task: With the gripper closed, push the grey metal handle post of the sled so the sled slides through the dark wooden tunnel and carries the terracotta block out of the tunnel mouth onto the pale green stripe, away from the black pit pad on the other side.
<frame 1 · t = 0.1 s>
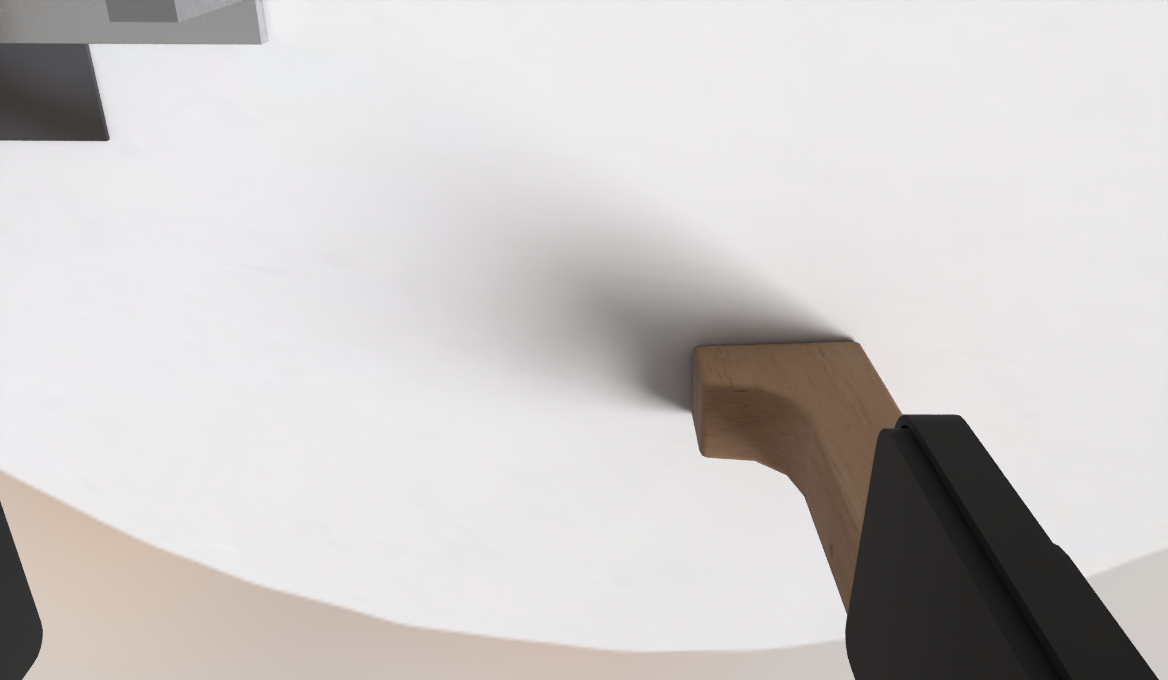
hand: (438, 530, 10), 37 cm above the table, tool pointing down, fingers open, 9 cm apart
wooden block: (772, 375, 51), on the table
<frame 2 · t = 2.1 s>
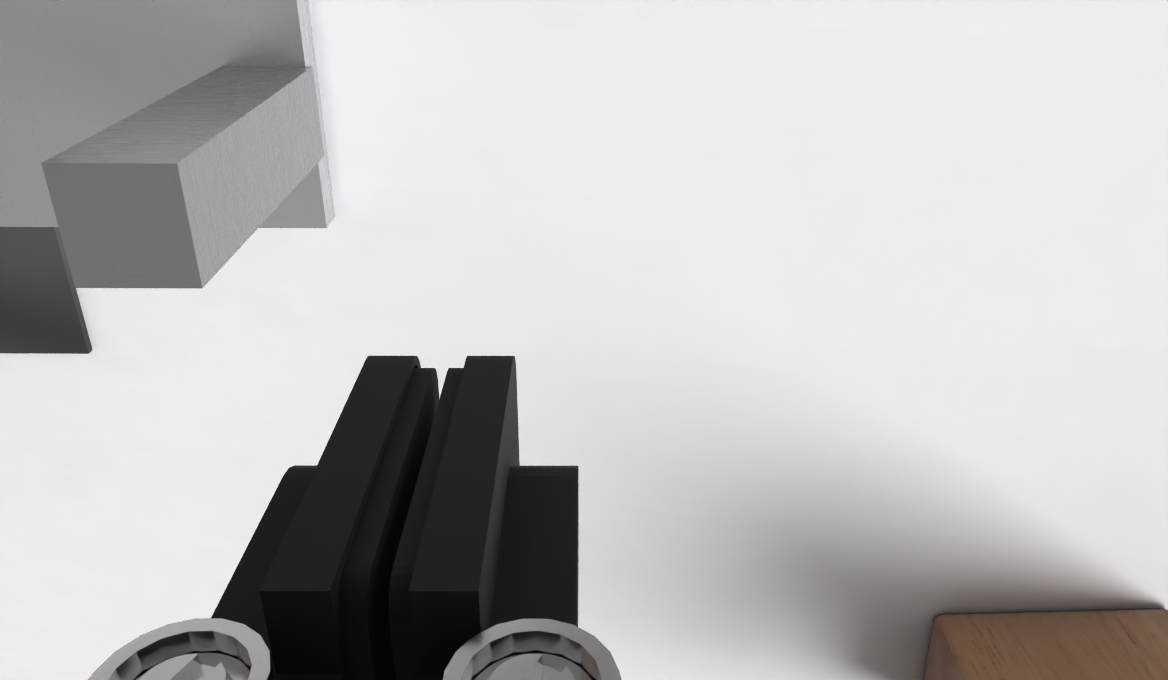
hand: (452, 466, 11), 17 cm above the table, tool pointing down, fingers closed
wooden block: (1038, 647, 36), on the table
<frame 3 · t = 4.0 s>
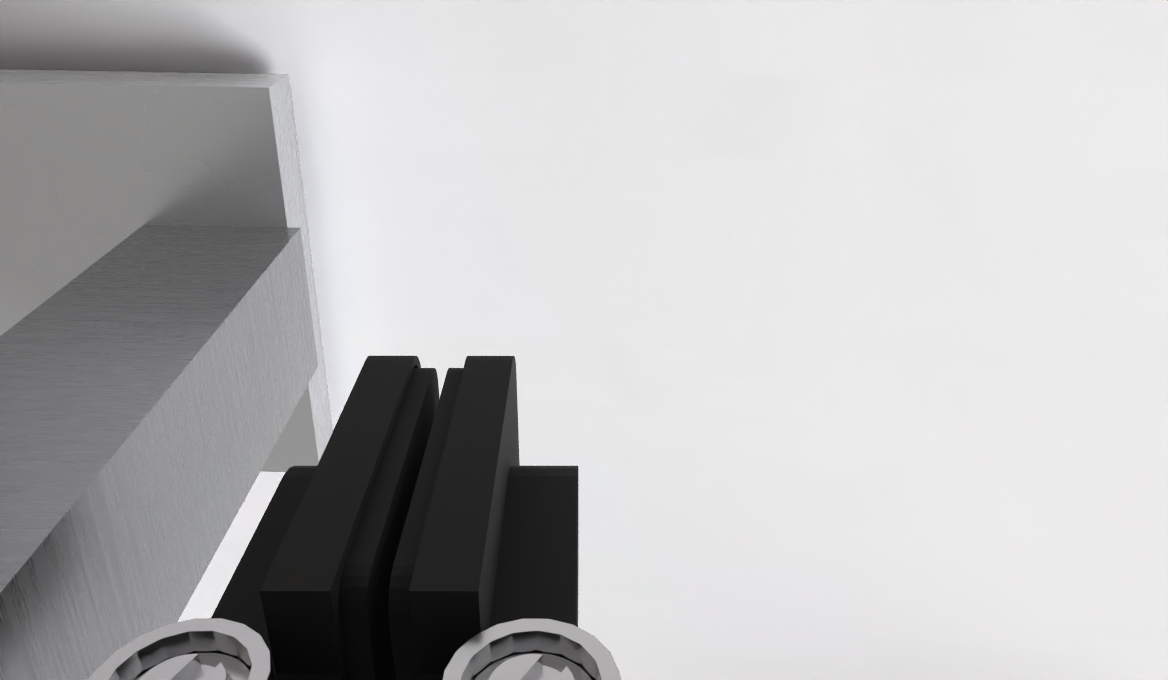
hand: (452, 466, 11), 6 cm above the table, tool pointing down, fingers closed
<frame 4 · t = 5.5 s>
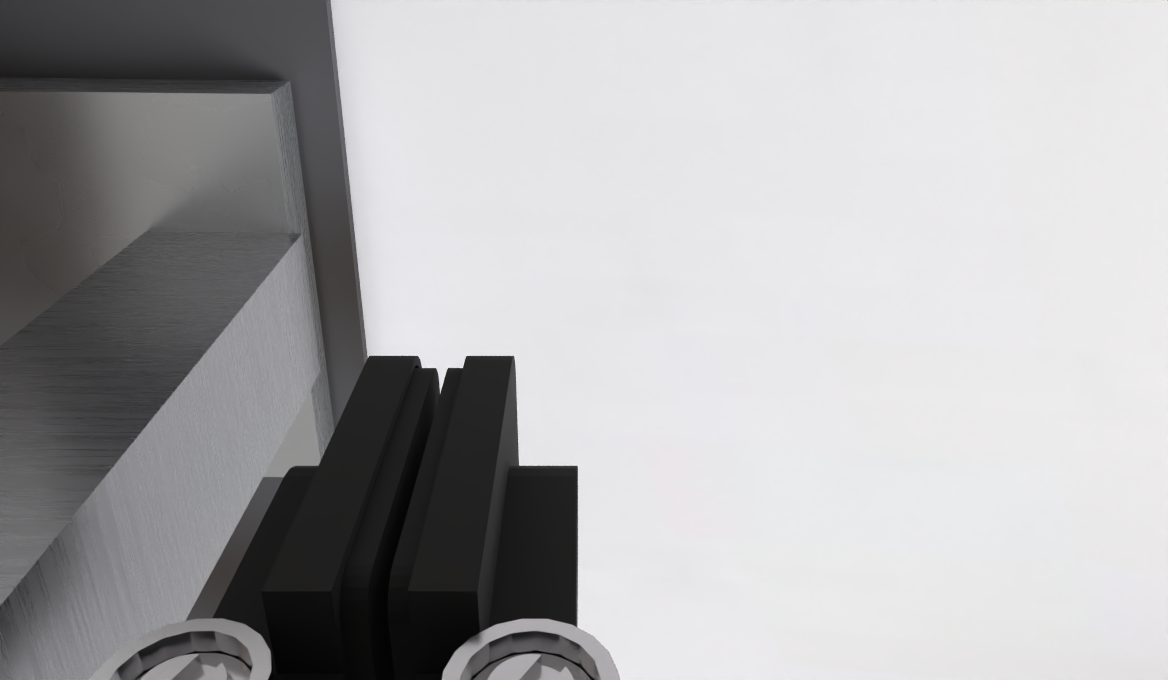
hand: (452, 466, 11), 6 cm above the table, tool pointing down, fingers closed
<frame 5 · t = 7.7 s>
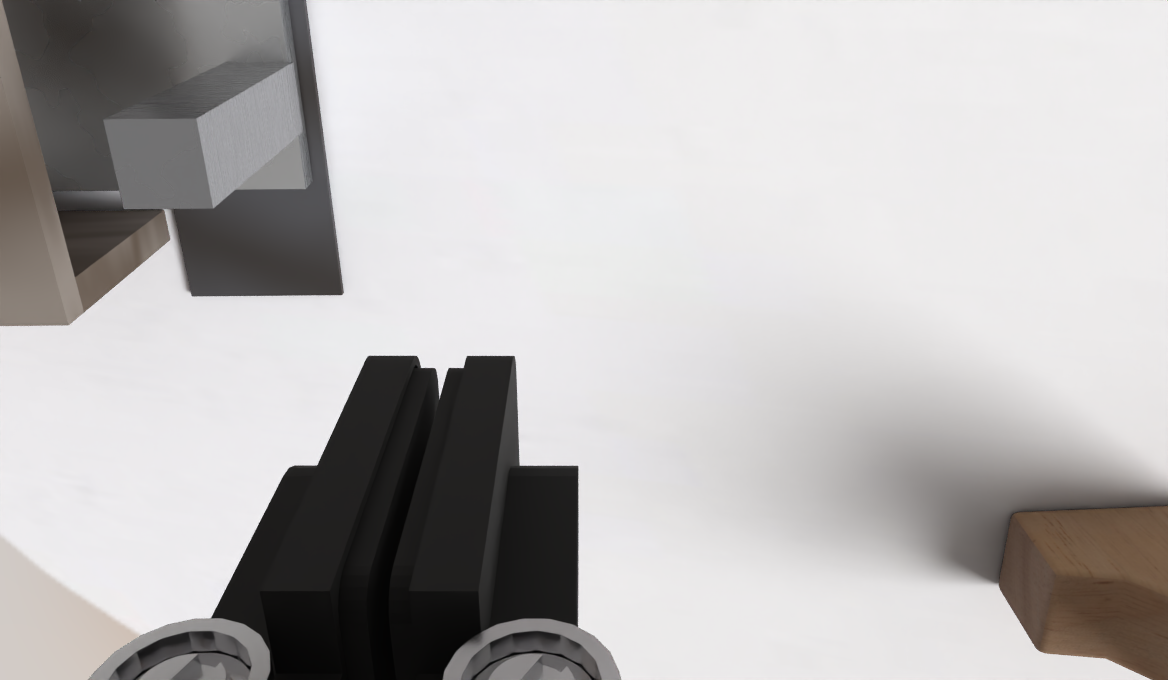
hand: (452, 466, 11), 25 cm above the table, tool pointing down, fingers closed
tunnel: (28, 92, 34), on the table
wooden block: (1096, 541, 43), on the table
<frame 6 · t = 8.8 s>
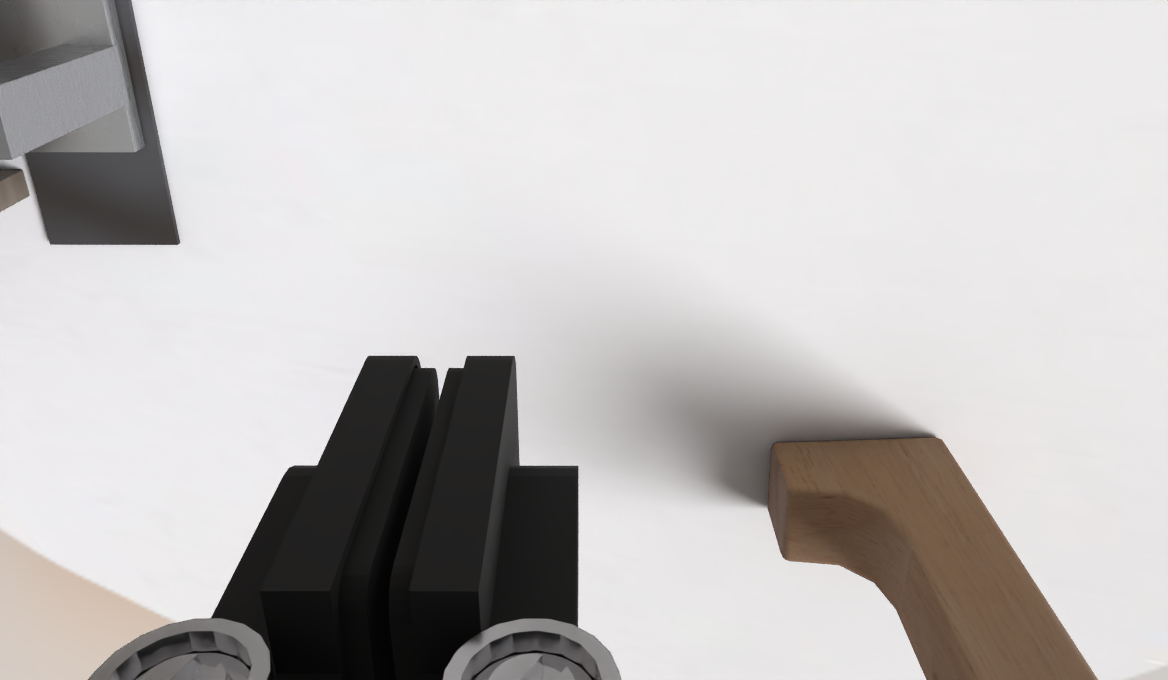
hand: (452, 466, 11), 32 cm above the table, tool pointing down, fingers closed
wooden block: (851, 470, 50), on the table
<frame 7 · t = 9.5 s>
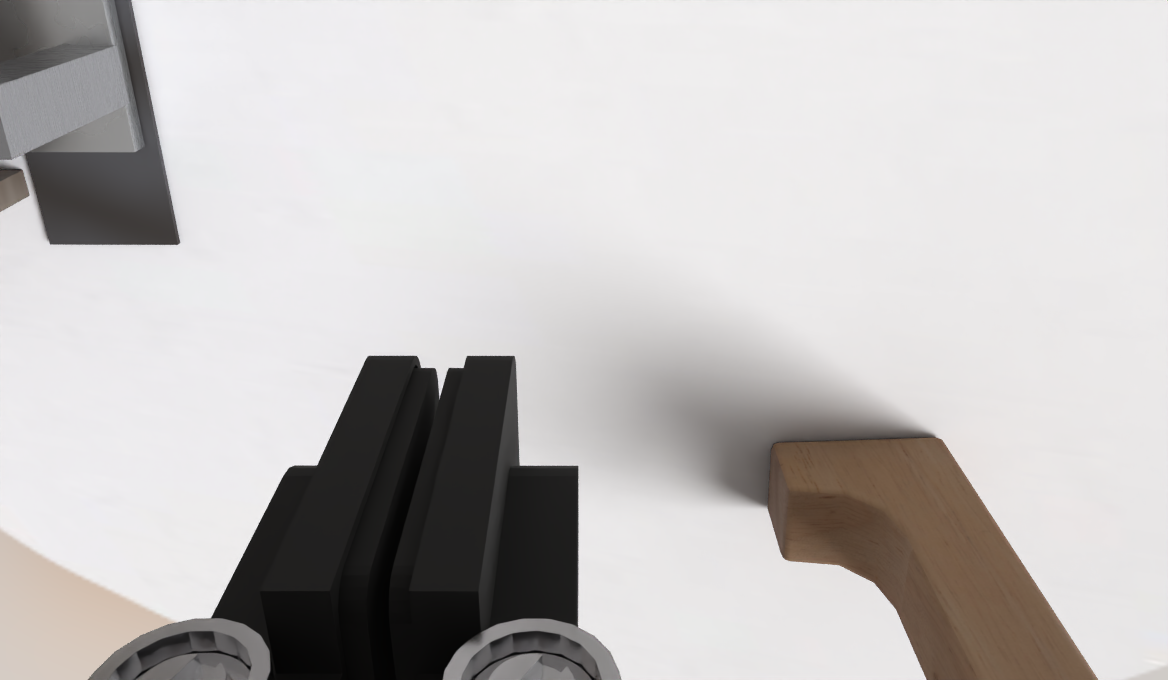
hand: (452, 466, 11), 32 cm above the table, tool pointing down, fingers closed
wooden block: (851, 470, 50), on the table
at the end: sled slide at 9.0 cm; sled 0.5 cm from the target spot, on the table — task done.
